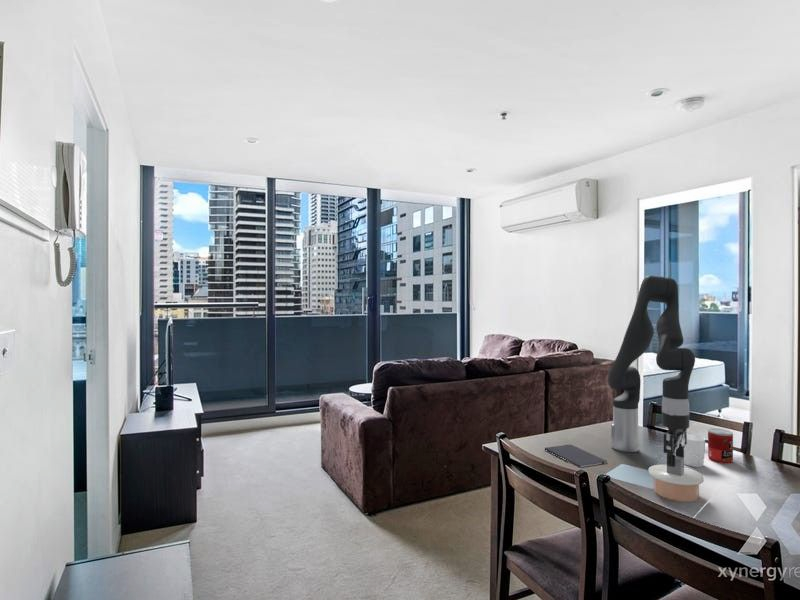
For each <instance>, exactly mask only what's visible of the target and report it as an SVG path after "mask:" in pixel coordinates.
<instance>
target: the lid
mask: <svg viewBox="0 0 800 600" xmlns="http://www.w3.org/2000/svg"><path fill="white" fill-rule="evenodd" d="M648 470H649V474H650V475H651V476H653V477H654V478H656V479H658V480H661V481H664V482H668V483H672V484H678V485H698V484H699V485H701V484H703V483H704V481H705V479H704V476H703V474H702V473H700V472H699V471H696V470H694V469H691V468H690V467H689V468H688V467H685V464H684V458H683V457H678V456H676V455H675V467H671V466H668V465H667V464H654V465H651V466H649V468H648Z"/></svg>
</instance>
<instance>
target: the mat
mask: <svg viewBox="0 0 800 600" xmlns="http://www.w3.org/2000/svg"><path fill="white" fill-rule="evenodd" d="M605 474H606V475H609V476H610V477H611V478H610V479H614V480H617V481H621V482H625V483H628V484H631V485H635V486H639V487H643V488H647V489H650V490H654V488H653V476H651V475H650V474H649V469H645V468H641V467H637V466H633V465H629V464H625V463H621V464H619V465H618V466H616V467H614V468H613V469H612V470H610V471H608V472H607V473H605Z"/></svg>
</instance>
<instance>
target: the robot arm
mask: <svg viewBox="0 0 800 600" xmlns="http://www.w3.org/2000/svg"><path fill="white" fill-rule="evenodd" d="M650 302H654V303H662V304H665V309H664V311H663V312H662V313H661V315H660V316H659V317H658V319H657V321H656V326H655V327H656V334H657V339H658V346H657V348H658V349H657V352H656V356H655V362H656V365H657V366H658V368H660V370H662V371H674V372H675V371H679V373H678V374H677V375H675V376H669V377H666V378H663V380H662V398H661V399H662V400H661V424H662V426H664V427H666V428H667V432H666V433H663V453H664V454H666V465H668V466H671V467H675V456H678V457H683V458H684V448H685V445H686V444H687V434H688V432H687V429H689V428H690V401H689V384H690V381H691V380H690V378H691V376H692V373H693V371H694V367H695V364H696V356H695V353H694V352H693V351H692V350H691V349H690V348H686V347H685V348H682V347H681V346H683V343H684V336H683V332H682V328H681V323H680V315H679V314H680V313H679V310H680V309H679V302H680V301H679V288H678V284H677V282H676V280H675V278H672V277H666V276H658V275H646V276H644V278H643V279H642V281H641V284H640V288H639V291H638V295H637V299H636V302H635V306H634V310H633V312H632V315H631V318H630V320H629V323H628V326H627V328H626V331H625V334H624V336H623V339H622V343H621V346H620V348H619V351H618V353H617V356H616V357H615V359H614V361H613V363H612V365H611V367H610V370H609V373H608V376H607V382H608V385H609V387H610V389H612V390H615V391H623V393H622V394H620V395H618V396H616V397H615V398H614V399H612V424H611V425H610V445H611V447H610V448H611V449H614V450H616V451H620V452H624V453H636V452H638V451H639V402H640V401H641V399H640V398H641V383H642V382H641V381H642V380H641V374H640V372H639V370H638V369H637V368H636V367H634V366H631V365H632V364H633V363H634V362H635V361H636V360H637V359H639V358H640V357H641V356H642V355H643V354H645V353H646V352H647V350H648V349H649V347H650V345H651V342H652V340H653V338H654V333H655V330H654V325H653V324H652V320H651V318H650V316H649V312H648V307H649V306H648V305H649V304H650ZM679 347H681V348H679Z"/></svg>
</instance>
